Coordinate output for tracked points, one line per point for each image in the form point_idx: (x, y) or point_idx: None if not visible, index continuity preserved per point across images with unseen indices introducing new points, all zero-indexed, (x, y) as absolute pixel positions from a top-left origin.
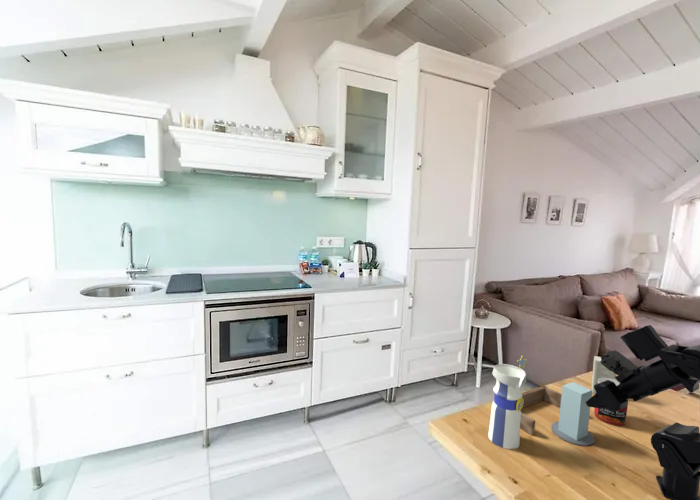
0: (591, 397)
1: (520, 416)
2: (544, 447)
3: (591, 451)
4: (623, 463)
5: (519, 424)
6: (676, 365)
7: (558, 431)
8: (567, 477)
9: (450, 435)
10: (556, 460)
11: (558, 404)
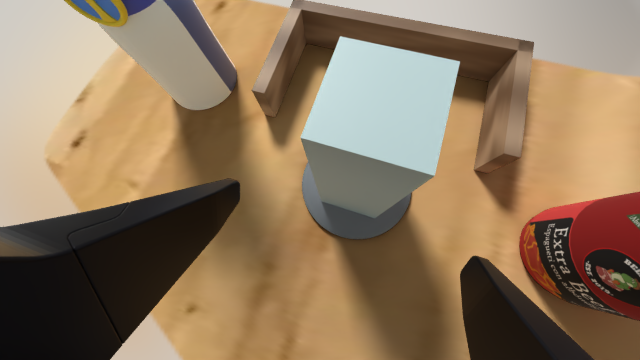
0: (142, 199)
1: (145, 48)
2: (235, 150)
3: (304, 241)
4: (309, 322)
5: (159, 68)
6: None
7: None
8: None
9: None
10: (200, 184)
11: (487, 116)
